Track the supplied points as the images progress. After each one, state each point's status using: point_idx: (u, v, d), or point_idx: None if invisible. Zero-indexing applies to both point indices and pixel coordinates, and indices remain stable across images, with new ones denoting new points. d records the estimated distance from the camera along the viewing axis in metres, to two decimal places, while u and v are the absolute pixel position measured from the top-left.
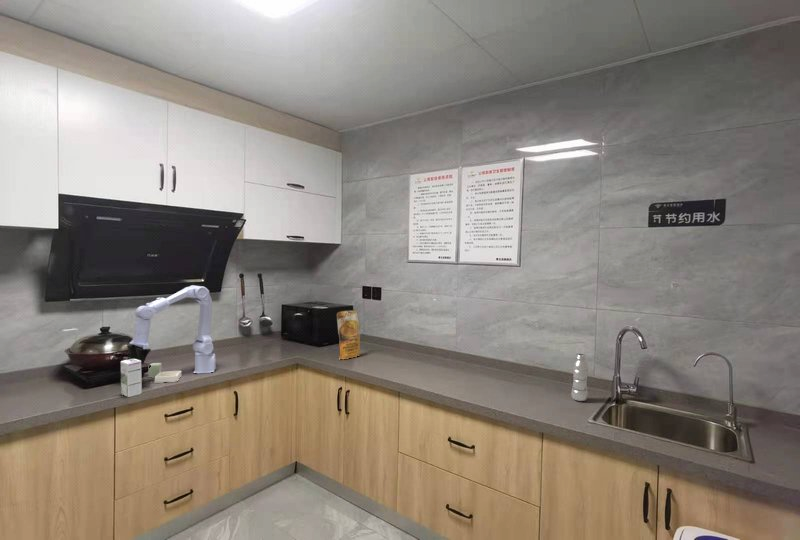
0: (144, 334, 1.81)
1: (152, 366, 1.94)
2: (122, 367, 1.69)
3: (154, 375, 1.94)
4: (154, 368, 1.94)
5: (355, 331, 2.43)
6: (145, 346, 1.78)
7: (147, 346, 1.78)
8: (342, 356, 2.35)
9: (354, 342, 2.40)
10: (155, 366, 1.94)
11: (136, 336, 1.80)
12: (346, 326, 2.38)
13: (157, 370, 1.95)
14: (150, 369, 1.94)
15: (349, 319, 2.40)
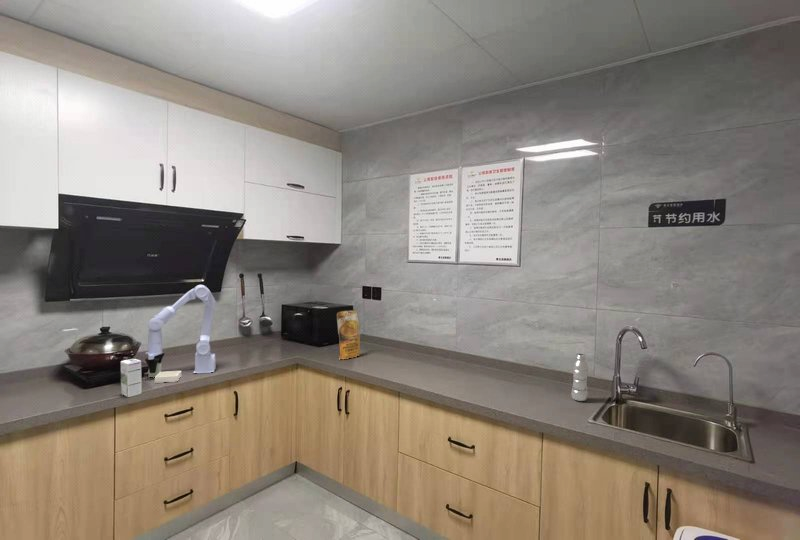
0: (153, 345, 1.93)
1: None
2: (122, 367, 1.69)
3: (154, 375, 1.94)
4: None
5: (355, 331, 2.43)
6: (149, 357, 1.89)
7: (151, 357, 1.89)
8: (342, 356, 2.35)
9: (354, 342, 2.40)
10: None
11: (148, 347, 1.94)
12: (346, 326, 2.38)
13: (157, 370, 1.95)
14: None
15: (349, 319, 2.40)
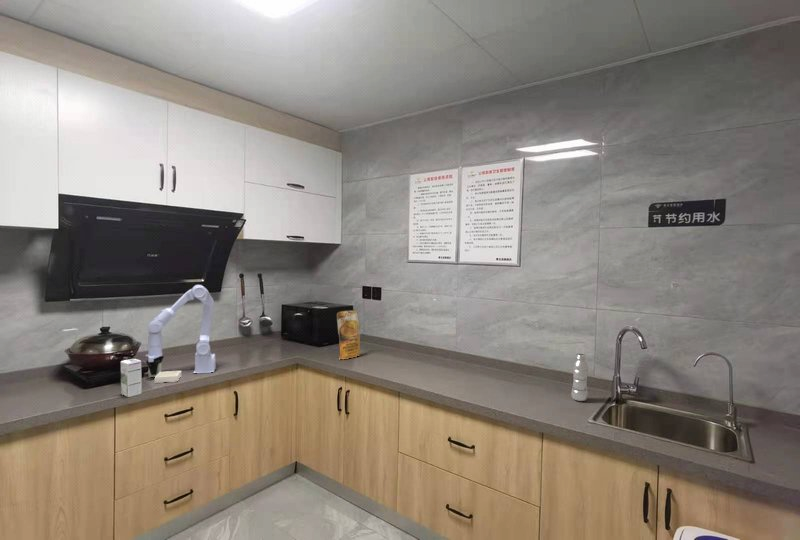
0: (153, 347, 1.93)
1: None
2: (122, 367, 1.69)
3: (154, 375, 1.94)
4: None
5: (355, 331, 2.43)
6: (149, 359, 1.89)
7: (151, 359, 1.89)
8: (342, 356, 2.35)
9: (354, 342, 2.40)
10: None
11: (148, 349, 1.94)
12: (346, 326, 2.38)
13: (157, 370, 1.95)
14: None
15: (349, 319, 2.40)
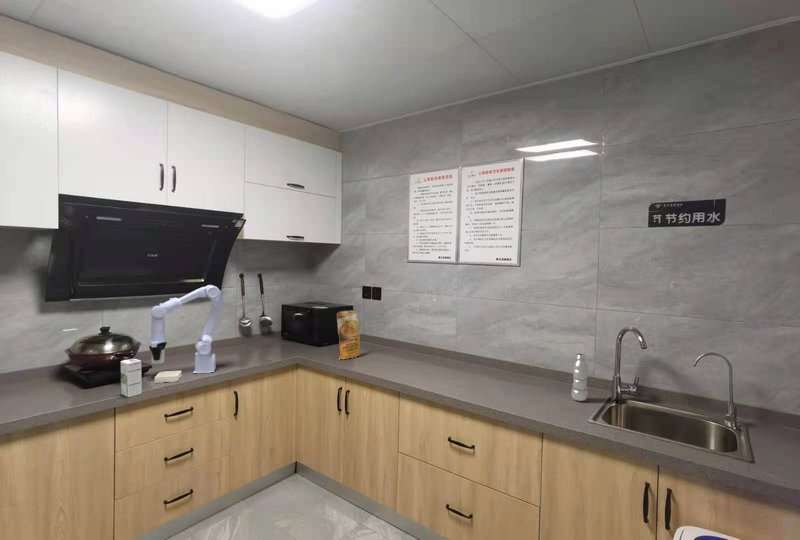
0: (156, 333, 1.92)
1: None
2: (122, 367, 1.69)
3: (157, 361, 1.93)
4: None
5: (355, 331, 2.43)
6: (152, 344, 1.88)
7: (154, 344, 1.88)
8: (342, 356, 2.35)
9: (354, 342, 2.40)
10: None
11: (151, 335, 1.92)
12: (346, 326, 2.38)
13: (160, 356, 1.93)
14: None
15: (349, 319, 2.40)
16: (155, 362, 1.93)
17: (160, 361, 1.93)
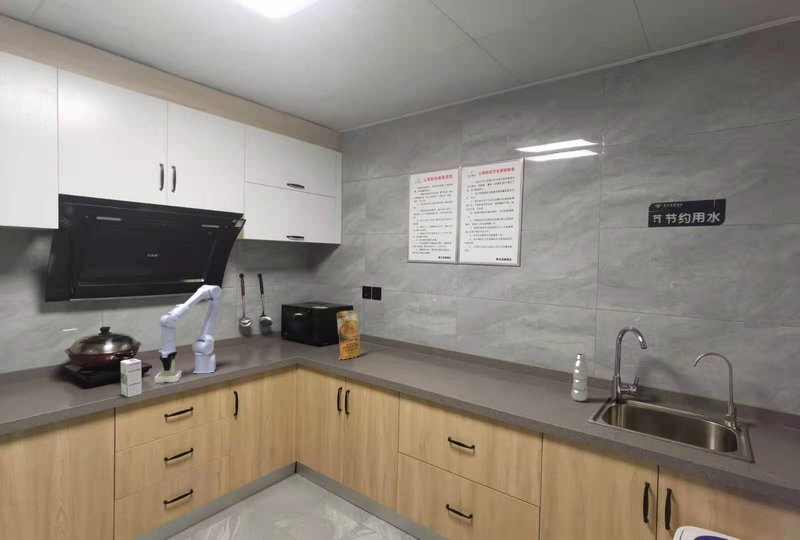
0: (167, 343, 1.88)
1: None
2: (122, 367, 1.69)
3: (167, 371, 1.89)
4: None
5: (355, 331, 2.43)
6: (163, 355, 1.84)
7: (165, 355, 1.84)
8: (342, 356, 2.35)
9: (354, 342, 2.40)
10: None
11: (162, 345, 1.88)
12: (346, 326, 2.38)
13: None
14: None
15: (349, 319, 2.40)
16: (165, 372, 1.89)
17: (170, 371, 1.89)
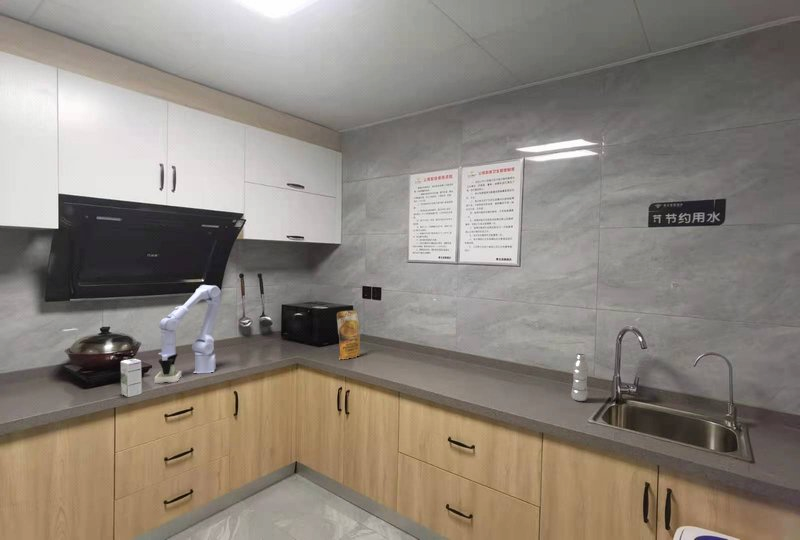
0: (167, 346, 1.88)
1: None
2: (122, 367, 1.69)
3: None
4: None
5: (355, 331, 2.43)
6: (163, 358, 1.84)
7: (165, 358, 1.84)
8: (342, 356, 2.35)
9: (354, 342, 2.40)
10: None
11: (162, 347, 1.88)
12: (346, 326, 2.38)
13: (170, 372, 1.89)
14: None
15: (349, 319, 2.40)
16: None
17: None
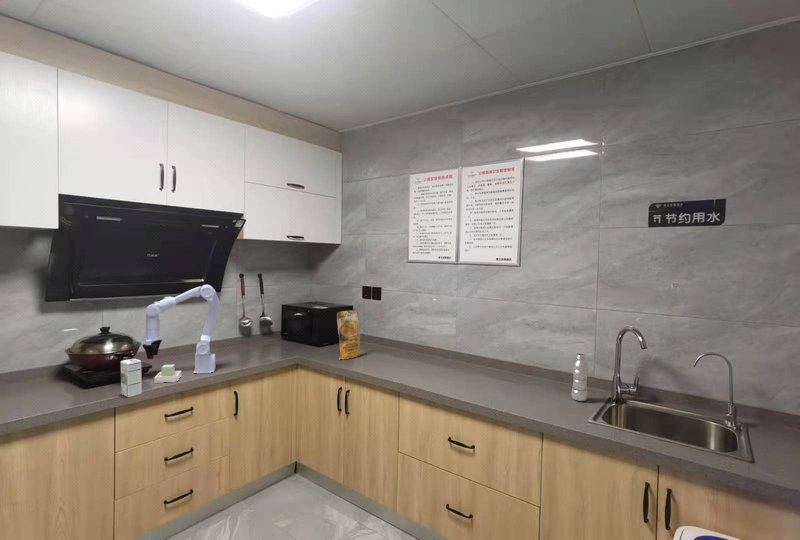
0: (151, 331, 1.93)
1: (165, 368, 1.89)
2: (122, 367, 1.69)
3: None
4: (167, 370, 1.89)
5: (355, 331, 2.43)
6: (147, 342, 1.89)
7: (149, 342, 1.89)
8: (342, 356, 2.35)
9: (354, 342, 2.40)
10: (168, 368, 1.89)
11: (146, 333, 1.94)
12: (346, 326, 2.38)
13: (170, 372, 1.89)
14: (163, 371, 1.88)
15: (349, 319, 2.40)
16: None
17: None
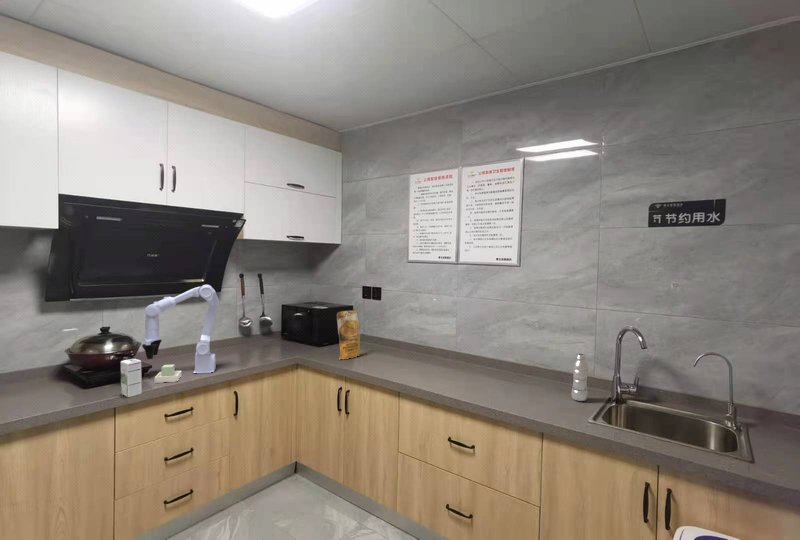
0: (150, 331, 1.94)
1: (165, 368, 1.89)
2: (122, 367, 1.69)
3: None
4: (167, 370, 1.89)
5: (355, 331, 2.43)
6: (146, 342, 1.89)
7: (148, 342, 1.90)
8: (342, 356, 2.35)
9: (354, 342, 2.40)
10: (168, 368, 1.89)
11: (145, 333, 1.94)
12: (346, 326, 2.38)
13: (170, 372, 1.89)
14: (163, 371, 1.88)
15: (349, 319, 2.40)
16: None
17: None
